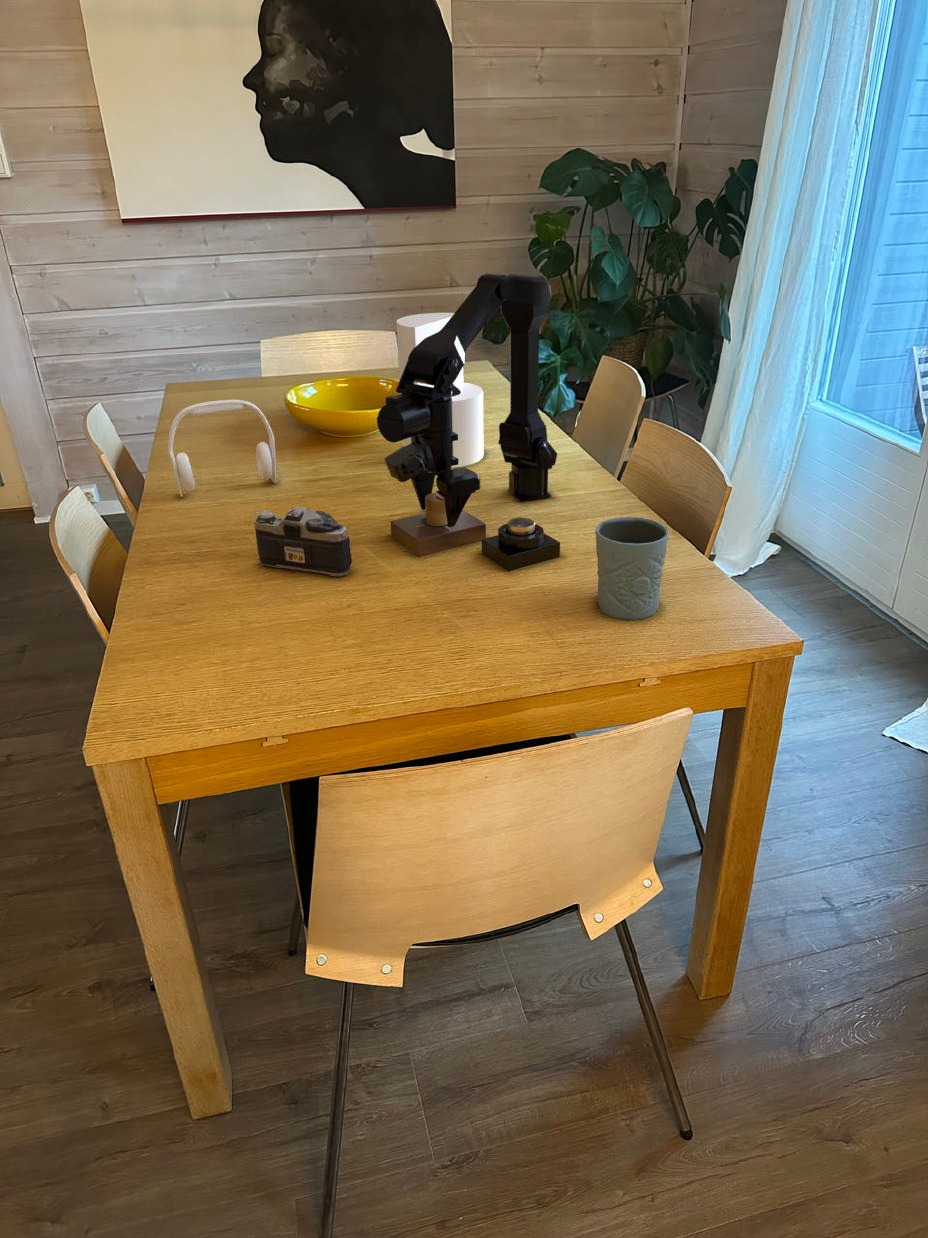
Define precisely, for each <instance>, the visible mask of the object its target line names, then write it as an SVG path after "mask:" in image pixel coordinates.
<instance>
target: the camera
mask: <svg viewBox="0 0 928 1238" xmlns="http://www.w3.org/2000/svg"><path fill="white" fill-rule="evenodd" d="M254 529H255V539H256V547H257V553H258V558H259V563H260V565H262V566H266V567H271V568H277V569H287V570H291V571H292V570H293V571H301V572H310V573H311V572H312V573H316V574H324V575H328V576H331V577H343V576H347V575H348V574H349V573H350V570H351V565H352V563H353V560H352V554H351V553H352V552H351V551H352V550H351V545H350V544H351V539H350V537H349V535H348V532H347V528H346V526H344V525H342V524H340V523H339V521H337V520H336V519H334V518H333V516H332V515H330V513H327V512H325V511H322V510H316V511H315V510H313V509H312V508H309V507H307V506H299V505H298V506H296V507H294V508H290V509H289V510H287V512H286V516H284V517H283V516H282V517H281V516H275V514H273V513H272V511H271V510H267V509H263V510H261V511H260V512H258V515H257V517H256V519H255V520H254Z"/></svg>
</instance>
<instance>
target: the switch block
mask: <svg viewBox="0 0 928 1238" xmlns="http://www.w3.org/2000/svg"><path fill="white" fill-rule="evenodd" d="M543 527H544V526H543ZM543 527H542V526H541V525H539V524H537V523H535V533H534V534H533V535H530V536H526V537H517V536H512V535H509V534H508V533H507V523H504V524H502V525H501V526H500V527H498V528H497V535H493V536H489V537H486V538H485V539H482V541H481V555H482V556H484V557H486V558H487V559H488V560H490V561H491V562H493V563H494V564H496V565H498V566H499V567H500V568H503V569H504V570H505V571H507V572H511V571H515V570H519V569H523V568H526V567H530V566H533V565H537V564H540V563H543V562H547V561H552V560H555V559H558V558H559V559H560V558H561V542H560V540H559V541H558V540H557V539H555V538H553V537H552V536H550V535H548V534H546V533H545V530H544V528H543Z"/></svg>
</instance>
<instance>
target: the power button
mask: <svg viewBox="0 0 928 1238" xmlns="http://www.w3.org/2000/svg"><path fill="white" fill-rule="evenodd" d="M506 524H507V533H508V534H509V535H512V536H517V537H526V536H530V535H533V534H534V533H535V524H536V522H535V521H534V520H533V519H531V518H528V517H514V518H511V519H509V520H508V521H507V523H506Z"/></svg>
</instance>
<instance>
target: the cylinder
mask: <svg viewBox="0 0 928 1238" xmlns="http://www.w3.org/2000/svg"><path fill="white" fill-rule="evenodd" d="M454 313H455V312H428V313H426V312H425V313H418V314H411V315H407V316H403V317H400V318H398V319H397V320H396V338H397V358H398V359H397V361H398V377H399V378H398V379H399V381H400V379H401V376H402V374H403V371H404V369H405V366H406V364H407V361H408V357H409V354H410V353H411V351H412V350H413V349H414V348H415V347H416V346H417V345H418V344H419V343H420V342H421V341H422V340H424V339H425V338H426V337H429V336H431V335H433V334H435V333H437V332H439V331H440V330H441V329H442V328H443V327H444V326H445V325H446V323H447V322H448V321H449V320H450V318H451V317H452V316H453V315H454ZM399 381H398V382H399ZM413 384H417V385H423V386H428V387H434V386H433V385H428V384H423V383H417V382H414V383H413ZM453 384H454V386H456V387H457V388H458V389H459V390H460V391H461V393H460V394H459V395H457V396H453V397H452V421H453V432H455V433H457V434H458V440H456V441H453V456H454V457H456V458H458V464H459V465H454V466H451V467H452V468H451V469H457V468H462V467H467V466H472V465H474V464H475V463H478V462H479V461H481V460H482V459H483V457H484V389H483V388H482V387H481V386H480V385H477V384H474V383H471V382H469V383H468V382H466V381H465V382H464V367H463V368H462V369H461V371H460V373H459V375H458V376H457V378H456V380H455V381H454V383H453ZM399 394H401V393H399ZM401 442H402V447H404V446H407V445H409V444H411V437H410V438H407V439H404V440H401Z"/></svg>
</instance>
